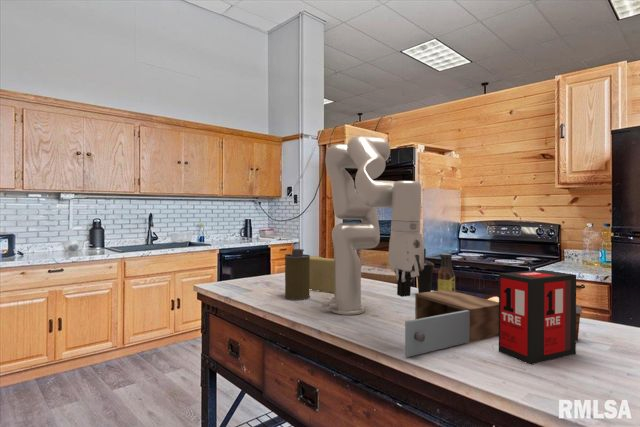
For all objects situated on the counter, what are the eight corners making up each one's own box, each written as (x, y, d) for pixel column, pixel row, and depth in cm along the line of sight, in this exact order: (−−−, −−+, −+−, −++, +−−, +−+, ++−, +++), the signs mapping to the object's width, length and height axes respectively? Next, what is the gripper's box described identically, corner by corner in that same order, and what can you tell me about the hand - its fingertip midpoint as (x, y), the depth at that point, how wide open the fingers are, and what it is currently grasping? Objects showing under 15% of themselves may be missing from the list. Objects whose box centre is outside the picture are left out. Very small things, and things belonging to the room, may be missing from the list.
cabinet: (470, 342, 102) (470, 309, 102) (415, 321, 122) (415, 293, 122) (504, 334, 109) (504, 303, 109) (446, 315, 128) (446, 289, 128)
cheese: (352, 293, 164) (352, 258, 164) (337, 296, 157) (338, 261, 157) (315, 286, 179) (315, 254, 179) (300, 289, 172) (300, 256, 172)
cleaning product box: (542, 342, 102) (542, 269, 102) (575, 354, 94) (576, 274, 94) (498, 351, 96) (499, 273, 96) (530, 364, 88) (530, 279, 88)
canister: (314, 296, 157) (314, 248, 157) (300, 301, 148) (300, 251, 148) (293, 293, 162) (294, 247, 162) (278, 298, 154) (278, 249, 154)
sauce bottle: (456, 309, 137) (456, 255, 137) (438, 308, 138) (438, 254, 138) (453, 305, 143) (453, 253, 143) (436, 304, 144) (436, 252, 144)
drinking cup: (434, 294, 162) (434, 248, 162) (433, 298, 154) (433, 249, 154) (416, 293, 164) (416, 247, 164) (414, 296, 157) (414, 249, 157)
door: (474, 343, 100) (474, 312, 100) (412, 359, 90) (412, 324, 89) (466, 340, 103) (466, 310, 102) (405, 355, 92) (405, 321, 92)
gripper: (436, 229, 94) (433, 301, 95) (400, 225, 108) (398, 288, 109) (411, 230, 91) (409, 304, 92) (378, 225, 105) (376, 290, 106)
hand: (403, 295), depth 101 cm, fingers closed
